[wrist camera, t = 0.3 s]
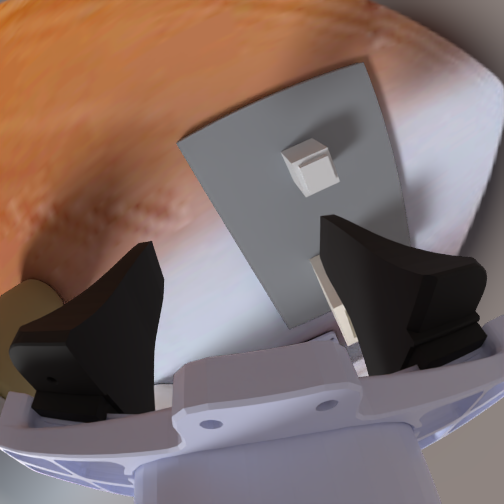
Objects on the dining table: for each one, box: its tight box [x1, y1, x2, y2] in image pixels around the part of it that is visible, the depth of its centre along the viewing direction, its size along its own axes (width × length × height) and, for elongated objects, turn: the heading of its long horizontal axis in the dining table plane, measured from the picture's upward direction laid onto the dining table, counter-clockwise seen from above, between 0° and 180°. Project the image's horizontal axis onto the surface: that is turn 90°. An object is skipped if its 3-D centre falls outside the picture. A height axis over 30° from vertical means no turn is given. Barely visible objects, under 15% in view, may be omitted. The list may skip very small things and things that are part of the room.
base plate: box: [176, 62, 411, 330], centre depth 21 cm, size 20×14×4 cm
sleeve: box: [309, 255, 358, 346], centre depth 22 cm, size 5×5×6 cm
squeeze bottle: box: [0, 279, 63, 415], centre depth 17 cm, size 8×8×18 cm
